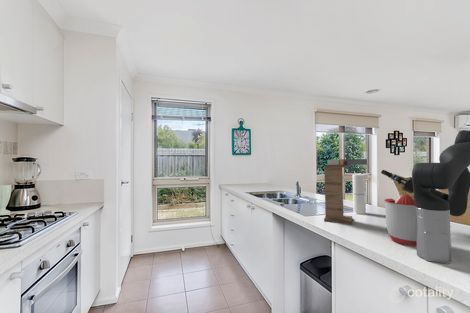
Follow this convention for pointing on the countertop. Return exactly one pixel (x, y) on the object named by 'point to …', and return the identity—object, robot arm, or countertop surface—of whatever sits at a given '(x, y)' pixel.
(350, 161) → the cord plug
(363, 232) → the countertop surface
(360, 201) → the cylindrical container
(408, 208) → the citrus juicer
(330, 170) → the stand
